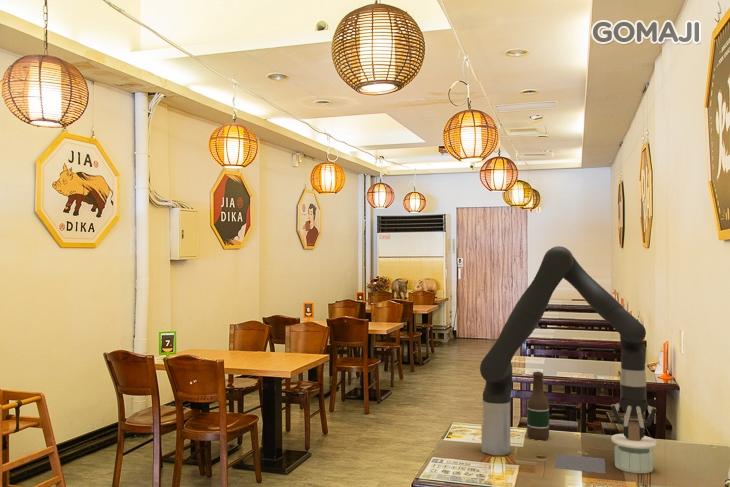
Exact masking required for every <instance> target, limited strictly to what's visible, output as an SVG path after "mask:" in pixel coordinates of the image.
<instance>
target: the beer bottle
mask: <svg viewBox="0 0 730 487" xmlns="http://www.w3.org/2000/svg"><path fill="white" fill-rule="evenodd" d="M532 376H533V379H532V380H533V382H532V392H531V395H530V397H529V398H528V400H527V406H526V408H527V409H526V419H527V421H526V422H527V423H526V425H527V426H526V429H527V430H526V431H527V432H526V433H527V434H526V435H527V438H528V437H529V438H528V439H530V440H531V439H534V440H533V441H538V440H544V441H547V440H549V438H550V404H549V401H548V400H549V399H548V398H547V397H546V396H545V393H544V392H545V391H544V379H543V377H544V373H543V372H541V371H533V373H532Z"/></svg>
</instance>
